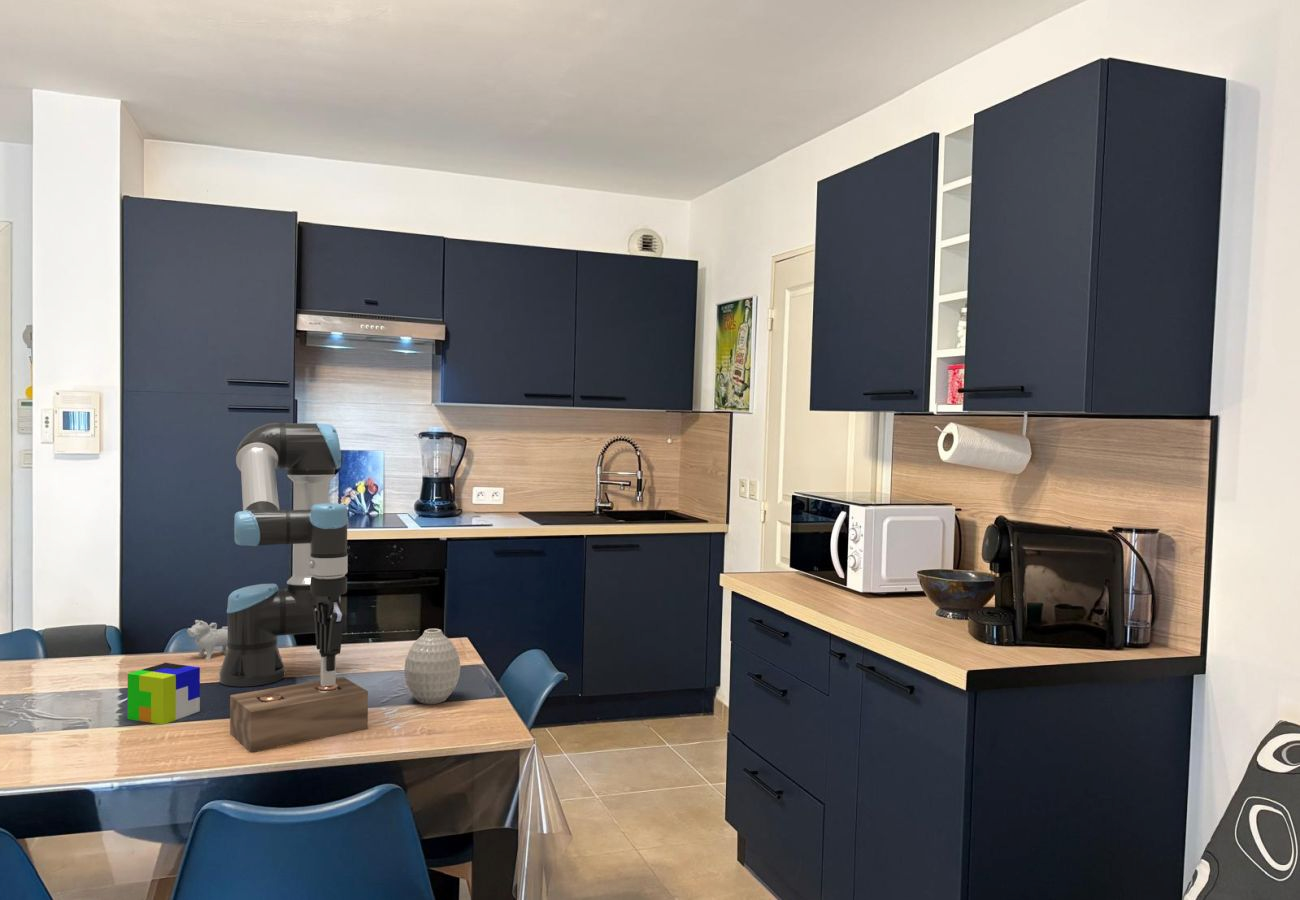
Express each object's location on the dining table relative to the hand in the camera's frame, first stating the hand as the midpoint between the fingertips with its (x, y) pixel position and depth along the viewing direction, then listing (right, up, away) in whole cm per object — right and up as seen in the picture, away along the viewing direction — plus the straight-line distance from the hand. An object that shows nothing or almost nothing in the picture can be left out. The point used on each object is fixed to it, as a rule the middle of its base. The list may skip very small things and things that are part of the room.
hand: (328, 684), depth 199 cm
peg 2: (0, -8, 0) cm, 8 cm away
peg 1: (-9, -8, -7) cm, 14 cm away
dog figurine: (-51, -7, +55) cm, 76 cm away
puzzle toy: (-38, -8, +5) cm, 39 cm away
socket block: (-5, -9, -3) cm, 11 cm away
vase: (+18, -9, +19) cm, 28 cm away
